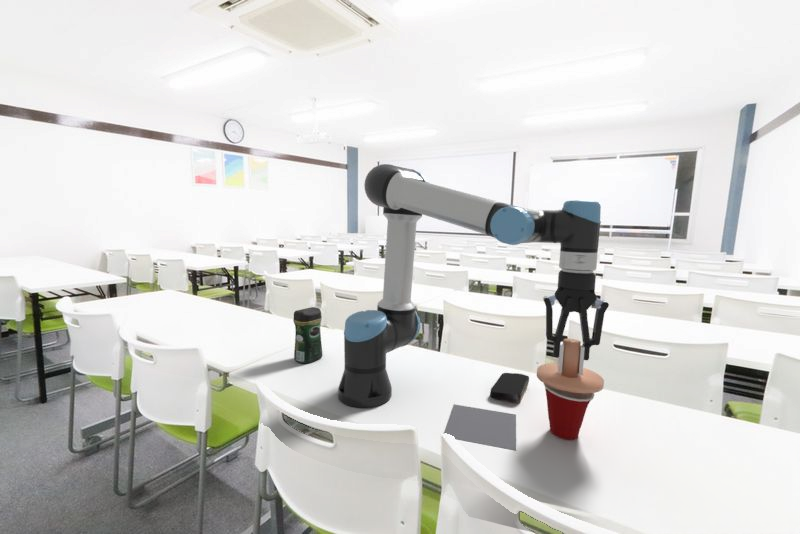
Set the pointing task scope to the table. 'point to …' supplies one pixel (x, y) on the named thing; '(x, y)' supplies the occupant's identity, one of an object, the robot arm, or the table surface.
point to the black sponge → (510, 387)
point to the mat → (482, 426)
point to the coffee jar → (307, 335)
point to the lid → (570, 372)
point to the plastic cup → (566, 411)
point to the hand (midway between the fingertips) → (569, 371)
